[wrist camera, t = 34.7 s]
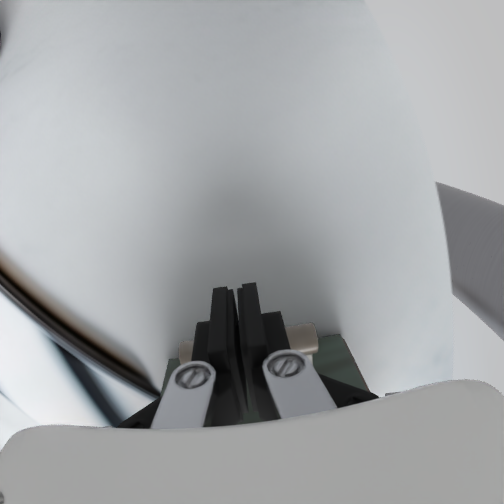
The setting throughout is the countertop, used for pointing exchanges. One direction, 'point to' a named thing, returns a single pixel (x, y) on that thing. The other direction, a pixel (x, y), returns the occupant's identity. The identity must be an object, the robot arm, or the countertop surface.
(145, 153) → the countertop surface
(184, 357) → the drawer
